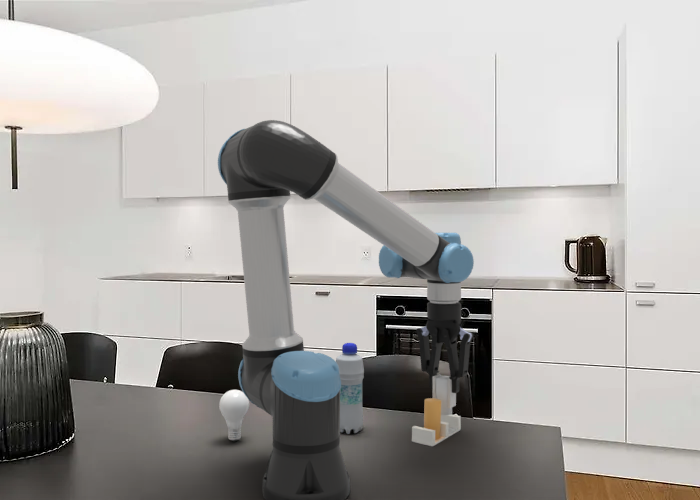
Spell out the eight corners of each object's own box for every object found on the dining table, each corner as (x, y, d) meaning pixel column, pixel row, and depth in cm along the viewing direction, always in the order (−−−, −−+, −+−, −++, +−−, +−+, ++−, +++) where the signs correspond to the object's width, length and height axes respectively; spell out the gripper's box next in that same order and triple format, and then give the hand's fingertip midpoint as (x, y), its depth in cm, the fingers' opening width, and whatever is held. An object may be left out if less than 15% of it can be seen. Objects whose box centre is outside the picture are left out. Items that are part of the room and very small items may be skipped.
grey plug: (455, 412, 136) (455, 377, 136) (445, 416, 134) (445, 380, 133) (442, 409, 139) (442, 374, 138) (432, 412, 136) (432, 377, 136)
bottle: (365, 426, 140) (365, 340, 139) (362, 436, 133) (363, 346, 133) (336, 425, 141) (336, 339, 140) (332, 435, 134) (332, 345, 133)
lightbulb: (213, 442, 129) (212, 391, 129) (232, 434, 135) (231, 385, 134) (236, 447, 126) (236, 395, 126) (255, 438, 132) (255, 388, 131)
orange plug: (442, 435, 133) (443, 399, 132) (438, 440, 129) (438, 403, 129) (426, 433, 134) (427, 397, 134) (421, 438, 131) (422, 401, 130)
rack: (432, 446, 127) (432, 431, 127) (411, 441, 130) (411, 427, 130) (460, 429, 138) (460, 416, 138) (441, 425, 141) (441, 412, 140)
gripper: (484, 302, 133) (484, 407, 134) (421, 297, 143) (421, 395, 144) (469, 305, 127) (469, 415, 128) (404, 300, 137) (404, 403, 138)
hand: (444, 404), depth 136 cm, fingers closed on grey plug, 3 cm apart
